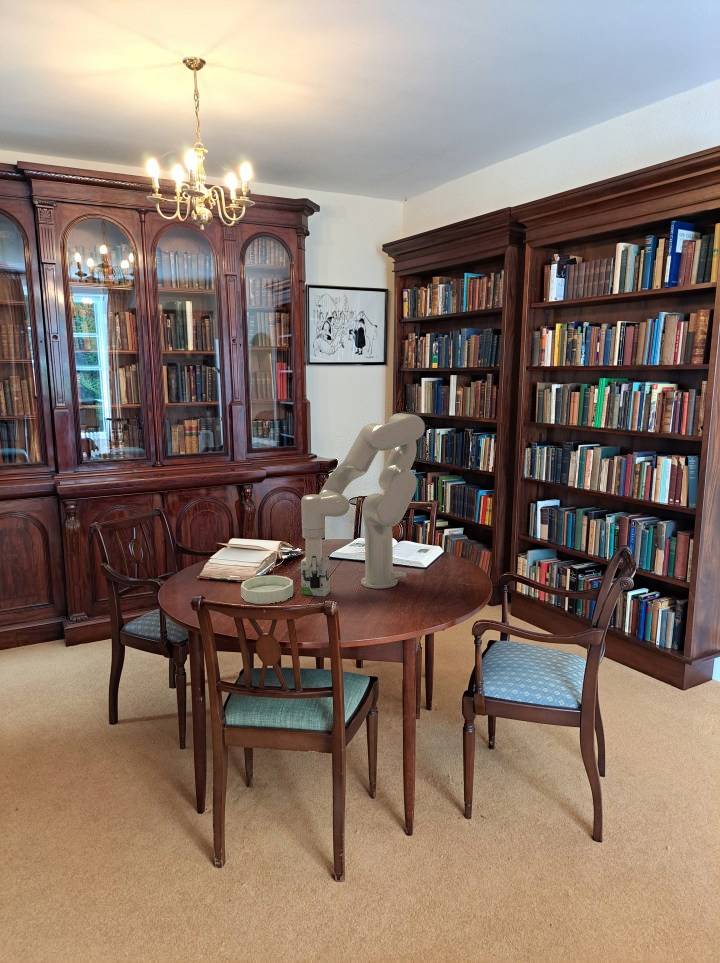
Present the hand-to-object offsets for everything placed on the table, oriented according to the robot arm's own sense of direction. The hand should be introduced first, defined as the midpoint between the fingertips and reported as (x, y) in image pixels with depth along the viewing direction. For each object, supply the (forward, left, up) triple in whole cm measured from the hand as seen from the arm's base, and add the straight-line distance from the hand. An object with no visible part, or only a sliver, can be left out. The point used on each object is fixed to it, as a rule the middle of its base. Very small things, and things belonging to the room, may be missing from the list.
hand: (315, 584), depth 215 cm
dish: (+16, 0, -3) cm, 16 cm away
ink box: (0, 0, -3) cm, 3 cm away
